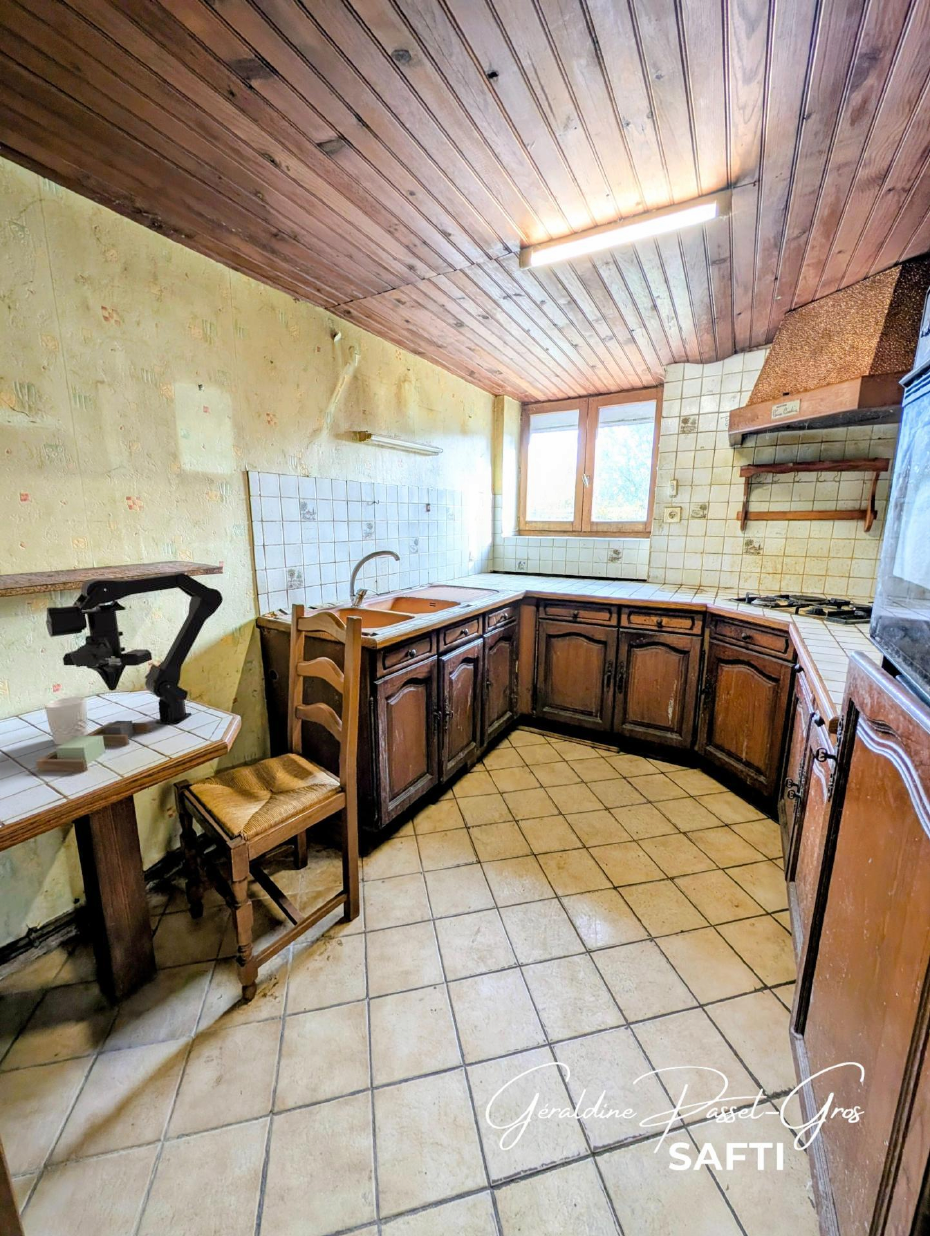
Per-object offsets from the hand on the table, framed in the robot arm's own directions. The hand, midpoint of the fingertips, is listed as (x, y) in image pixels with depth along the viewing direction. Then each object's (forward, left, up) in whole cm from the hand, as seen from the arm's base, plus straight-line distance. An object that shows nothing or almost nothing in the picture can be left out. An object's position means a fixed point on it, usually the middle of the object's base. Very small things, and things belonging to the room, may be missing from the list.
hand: (112, 690), depth 120 cm
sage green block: (+13, +2, -12) cm, 18 cm away
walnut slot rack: (+9, +1, -12) cm, 15 cm away
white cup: (+3, -10, -12) cm, 16 cm away
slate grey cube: (+2, +2, -12) cm, 13 cm away
